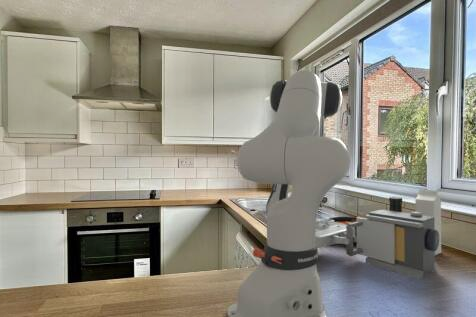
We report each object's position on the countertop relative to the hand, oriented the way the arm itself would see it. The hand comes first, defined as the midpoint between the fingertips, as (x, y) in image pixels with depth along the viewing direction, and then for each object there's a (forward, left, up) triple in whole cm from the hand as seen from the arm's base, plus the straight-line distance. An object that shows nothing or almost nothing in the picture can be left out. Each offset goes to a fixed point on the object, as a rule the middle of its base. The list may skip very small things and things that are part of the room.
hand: (352, 240), depth 93 cm
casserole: (+24, +17, -8) cm, 31 cm away
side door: (+3, -4, -6) cm, 8 cm away
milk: (+33, -9, -8) cm, 35 cm away
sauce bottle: (+22, -3, -8) cm, 24 cm away
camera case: (+11, -10, -8) cm, 17 cm away
